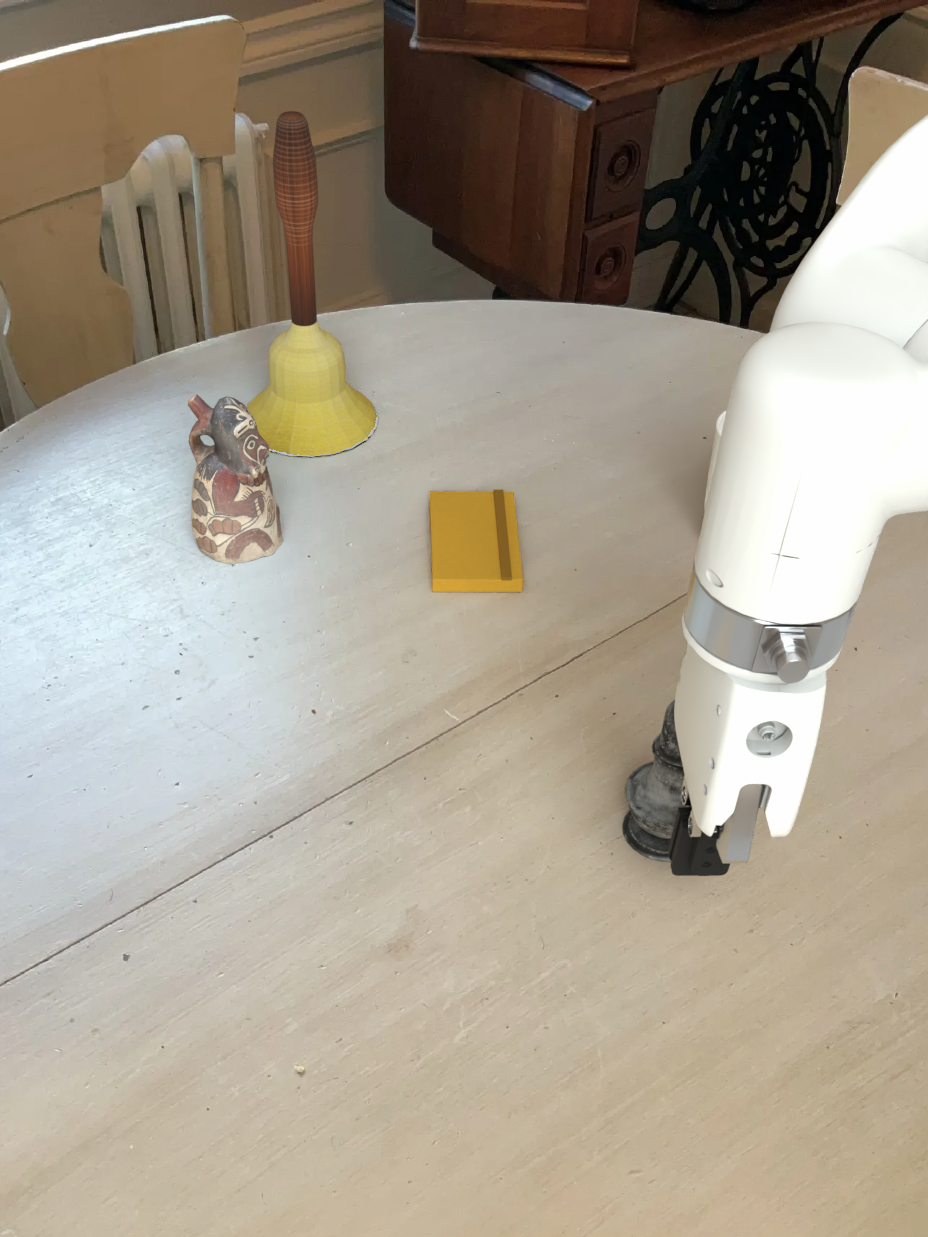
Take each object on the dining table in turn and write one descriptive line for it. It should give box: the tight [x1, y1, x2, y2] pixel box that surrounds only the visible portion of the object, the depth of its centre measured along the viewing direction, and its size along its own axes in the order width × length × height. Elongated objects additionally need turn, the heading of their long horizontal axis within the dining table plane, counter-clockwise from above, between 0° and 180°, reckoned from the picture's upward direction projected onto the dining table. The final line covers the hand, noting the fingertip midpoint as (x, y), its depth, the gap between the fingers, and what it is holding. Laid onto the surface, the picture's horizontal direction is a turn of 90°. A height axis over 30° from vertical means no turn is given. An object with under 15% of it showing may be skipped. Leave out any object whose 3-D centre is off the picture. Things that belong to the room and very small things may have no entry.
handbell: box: [246, 110, 378, 456], centre depth 104 cm, size 12×12×25 cm
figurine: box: [187, 394, 284, 565], centre depth 97 cm, size 7×7×12 cm
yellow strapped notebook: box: [429, 489, 524, 593], centre depth 101 cm, size 12×7×1 cm, turn 2°
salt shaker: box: [622, 699, 689, 863], centre depth 77 cm, size 6×6×12 cm
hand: (696, 864), depth 72 cm, fingers closed
